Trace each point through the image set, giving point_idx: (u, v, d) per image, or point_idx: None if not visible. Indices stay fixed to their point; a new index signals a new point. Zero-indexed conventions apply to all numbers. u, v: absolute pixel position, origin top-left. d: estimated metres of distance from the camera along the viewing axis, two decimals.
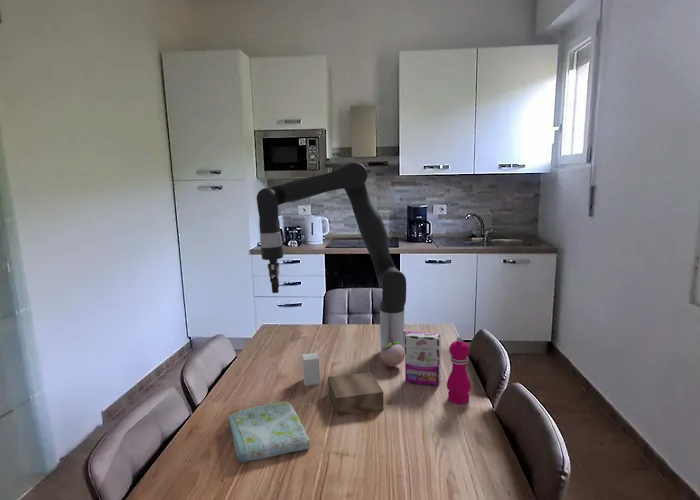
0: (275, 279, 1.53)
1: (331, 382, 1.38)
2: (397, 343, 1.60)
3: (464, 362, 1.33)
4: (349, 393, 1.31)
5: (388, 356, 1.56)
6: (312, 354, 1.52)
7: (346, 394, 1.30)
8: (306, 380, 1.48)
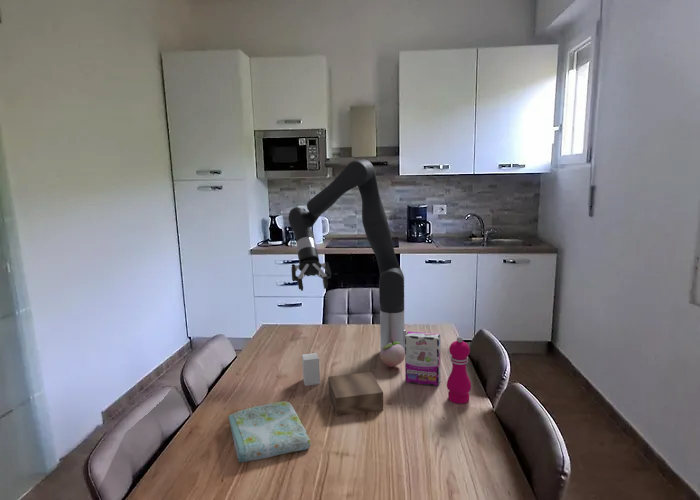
0: (292, 277, 1.62)
1: (331, 382, 1.38)
2: (397, 343, 1.60)
3: (464, 362, 1.33)
4: (349, 393, 1.31)
5: (388, 356, 1.56)
6: (312, 354, 1.52)
7: (346, 394, 1.30)
8: (306, 380, 1.48)
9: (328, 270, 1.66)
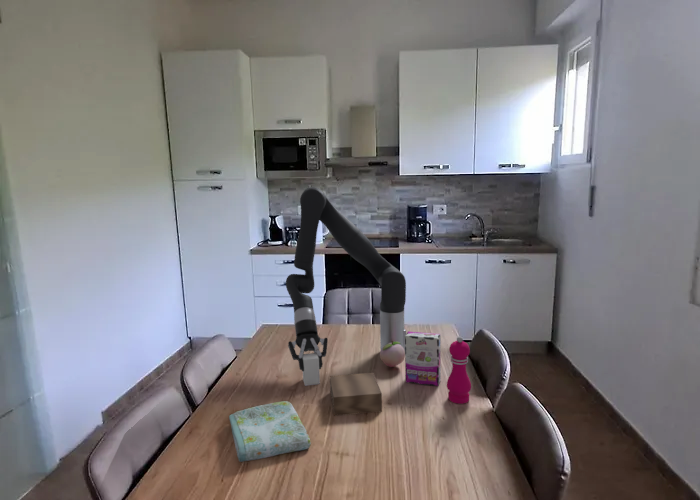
0: (293, 355, 1.50)
1: (332, 381, 1.39)
2: (397, 343, 1.60)
3: (464, 362, 1.33)
4: (347, 393, 1.31)
5: (388, 356, 1.56)
6: (312, 354, 1.52)
7: (344, 394, 1.30)
8: (306, 380, 1.48)
9: (324, 348, 1.53)
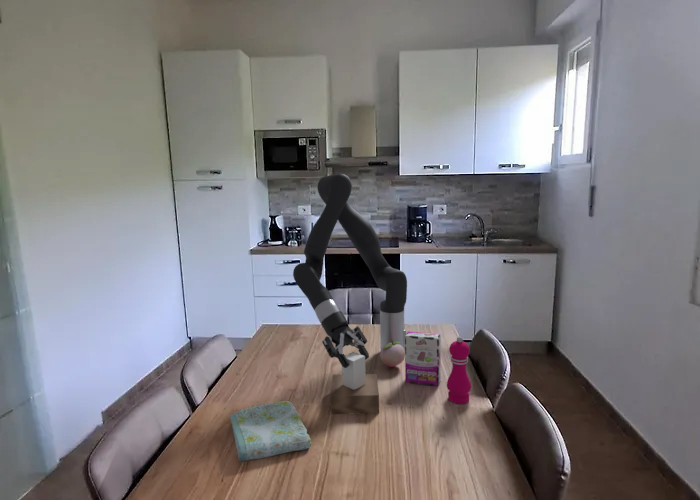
0: (332, 353, 1.31)
1: (333, 380, 1.40)
2: (397, 343, 1.60)
3: (464, 362, 1.33)
4: (345, 392, 1.31)
5: (388, 356, 1.56)
6: (352, 354, 1.37)
7: (342, 393, 1.31)
8: (355, 383, 1.33)
9: (362, 336, 1.40)
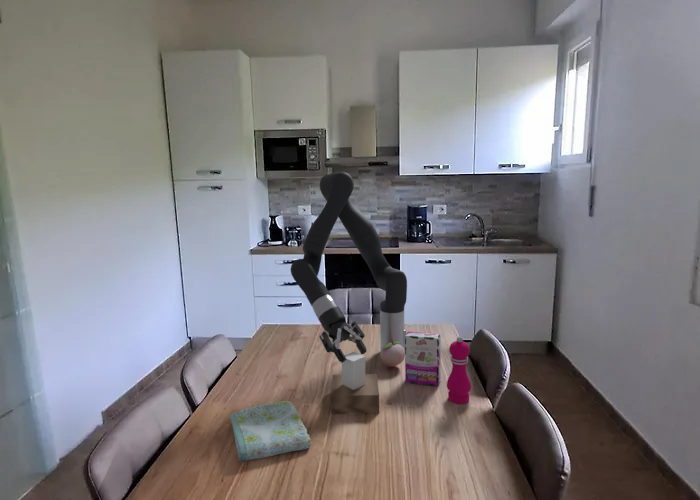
0: (329, 347, 1.32)
1: (333, 380, 1.40)
2: (397, 343, 1.60)
3: (464, 362, 1.33)
4: (345, 392, 1.31)
5: (388, 356, 1.56)
6: (352, 354, 1.37)
7: (342, 393, 1.31)
8: (354, 383, 1.33)
9: (360, 331, 1.41)
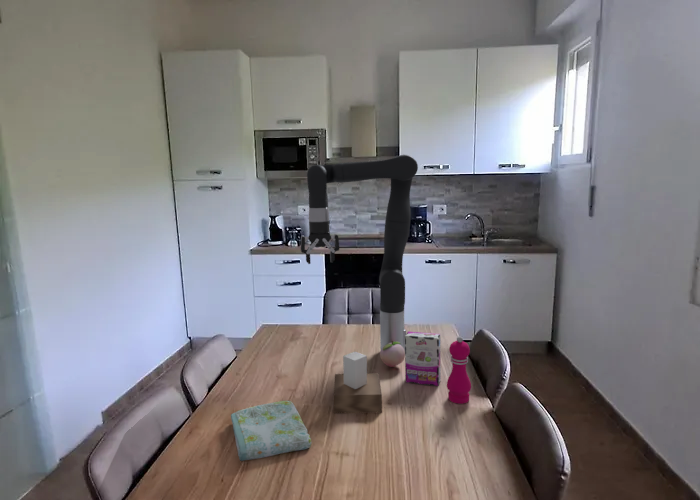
0: (301, 250, 1.65)
1: (335, 379, 1.40)
2: (397, 343, 1.60)
3: (464, 362, 1.33)
4: (347, 392, 1.32)
5: (388, 356, 1.56)
6: (353, 353, 1.37)
7: (344, 393, 1.31)
8: (356, 382, 1.33)
9: (337, 245, 1.67)
